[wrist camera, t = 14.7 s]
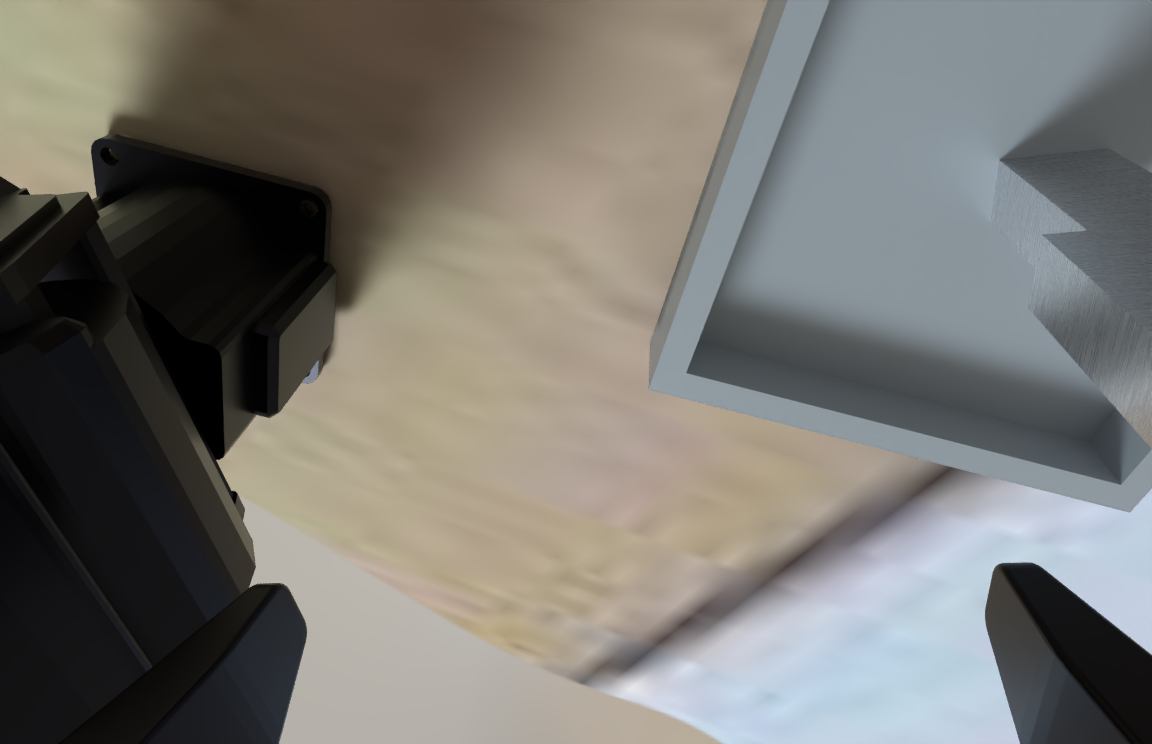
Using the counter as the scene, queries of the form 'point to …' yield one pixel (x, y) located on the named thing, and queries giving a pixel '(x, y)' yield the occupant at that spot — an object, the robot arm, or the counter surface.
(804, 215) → the tray
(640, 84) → the counter surface
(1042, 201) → the grey rectangular block
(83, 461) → the robot arm
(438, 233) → the counter surface
